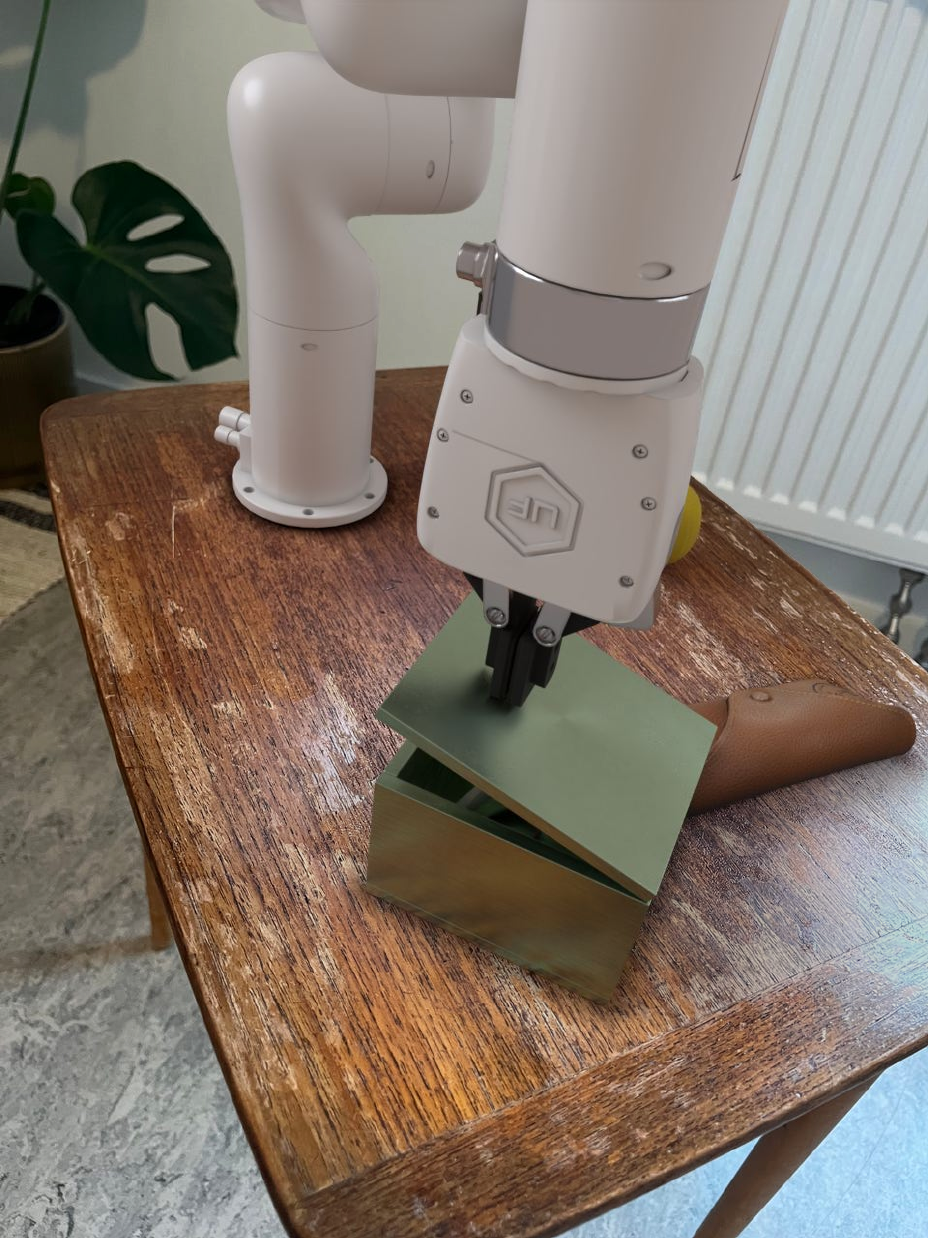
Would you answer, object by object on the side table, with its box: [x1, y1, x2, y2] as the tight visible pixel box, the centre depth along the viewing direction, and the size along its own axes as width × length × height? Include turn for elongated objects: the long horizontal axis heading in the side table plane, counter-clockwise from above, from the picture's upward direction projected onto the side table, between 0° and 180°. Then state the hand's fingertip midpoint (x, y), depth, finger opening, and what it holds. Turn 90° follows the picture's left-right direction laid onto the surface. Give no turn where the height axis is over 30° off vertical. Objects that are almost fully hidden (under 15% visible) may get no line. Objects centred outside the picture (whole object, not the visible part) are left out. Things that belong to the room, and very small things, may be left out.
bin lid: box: [373, 588, 718, 903], centre depth 46 cm, size 14×12×1 cm
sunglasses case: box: [684, 678, 918, 819], centre depth 61 cm, size 18×7×7 cm
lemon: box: [666, 485, 703, 566], centre depth 75 cm, size 6×6×8 cm
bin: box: [365, 738, 653, 1009], centre depth 50 cm, size 14×12×9 cm
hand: (516, 683), depth 46 cm, fingers closed
